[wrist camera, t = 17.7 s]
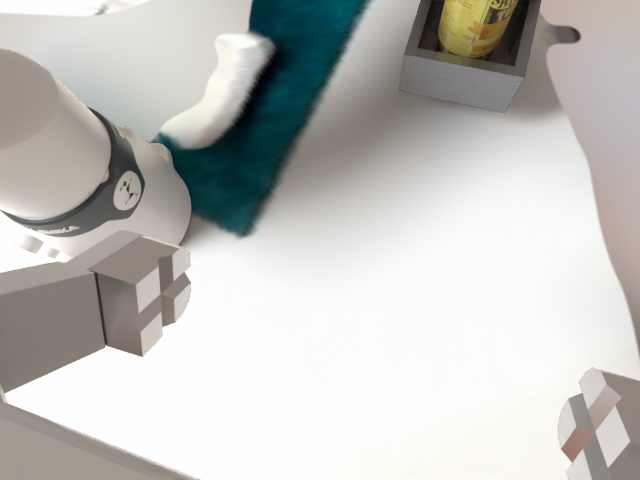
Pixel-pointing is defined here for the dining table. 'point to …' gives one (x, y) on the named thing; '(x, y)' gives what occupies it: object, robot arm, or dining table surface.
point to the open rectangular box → (468, 61)
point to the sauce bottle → (473, 26)
